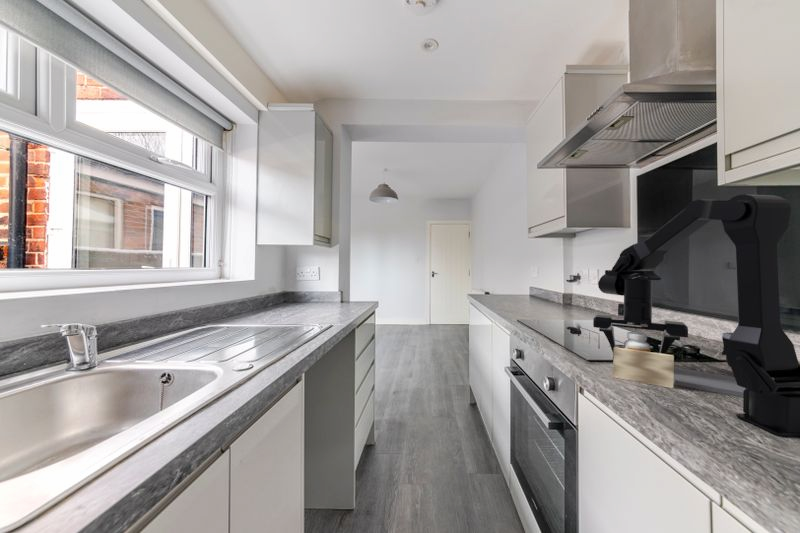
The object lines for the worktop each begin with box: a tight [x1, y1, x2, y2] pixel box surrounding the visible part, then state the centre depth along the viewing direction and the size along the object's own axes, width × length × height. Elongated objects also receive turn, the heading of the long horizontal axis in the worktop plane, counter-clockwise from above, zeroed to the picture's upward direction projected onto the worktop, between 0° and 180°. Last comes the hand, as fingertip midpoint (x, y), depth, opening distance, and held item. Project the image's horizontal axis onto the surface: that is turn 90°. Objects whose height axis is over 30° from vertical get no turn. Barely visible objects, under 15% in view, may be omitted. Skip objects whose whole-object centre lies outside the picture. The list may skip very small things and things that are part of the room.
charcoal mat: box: [673, 367, 746, 398], centre depth 72 cm, size 12×12×1 cm
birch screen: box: [612, 346, 675, 389], centre depth 73 cm, size 11×2×7 cm, turn 53°
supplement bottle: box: [623, 331, 651, 352], centre depth 80 cm, size 5×5×10 cm
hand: (636, 358), depth 80 cm, fingers open, 9 cm apart
